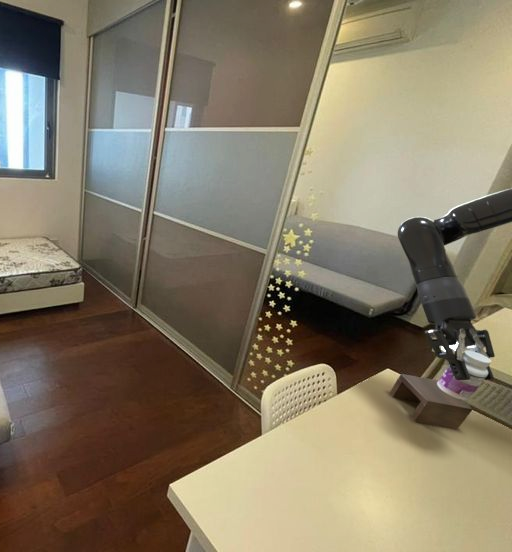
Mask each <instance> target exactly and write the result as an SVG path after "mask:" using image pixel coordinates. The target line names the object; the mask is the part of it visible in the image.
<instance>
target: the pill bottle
mask: <svg viewBox="0 0 512 552" xmlns="http://www.w3.org/2000/svg"><path fill="white" fill-rule="evenodd" d="M462 356H463V360H461V361H464V363H465V365H466V368H467V370H468V373H469V376H470V380H456V379H455V377H454V375H453V373H452V370H451V367H450V365H449V364H448V366H447V367H446V369H445V370H444V372H442V375H441V376H440V377H439V379H438V382H437V385H438V387H439V388H440V389H441V390H442V391H444V392H445V393H447V394H449V395H451V396H453V397H455V398H458V399H462V400H463V401H464V400H470V398H472V396H473V395H474V394H475V393H476V391H477V389H479V387H480V386H481V385H482V384H483V382H484V381H485V380H484V379H485V378H486V377H487V375H488V370H487V369H486V367H488V366H489V367H490V365H491V363H492V360H491V359H490V358H487V357H486V356H484V355H482V354H480V353H477V352H475V351H470V350H465V351H464V352H463V351H462Z"/></svg>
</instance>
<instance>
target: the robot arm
mask: <svg viewBox="0 0 512 552" xmlns="http://www.w3.org/2000/svg"><path fill="white" fill-rule="evenodd" d="M511 223H512V187H511V188H508V189H504V190H501V191H498V192H494V193H491V194H488V195H485V196H482V197H479V198H477V199H474V200H471V201H468V202H465V203H462V204H460V205H457V206H455V207H453V208H451V209H450V210H449V211H448V213H447V214H445V215H444V216H441V217H439V218H436V219H434V220H432V219H430V218H428V217H425V216H424V217H423V216H413V217H411V218H410V217H409V218H408V219H406V220H405V221H403V222H402V223H401V224H400V226H399V227H398V229H397V238H398V241H399V243H400V245H401V247H402V249H403V252H404V254H405V256H406V258H407V261H408V263H409V266H410V270H411V271H410V272H411V274H412V277H413V280H414V283H415V286H416V289H417V295H418V298H419V301H420V303H421V306H422V309H423V312H424V314H425V317H426V320H427V323H428V324H430V325H434V326H435V328H434V329H429V330H425V331H424V335H425V337H426V338H427V340H428V342H429V344H430V346H431V348H432V350H433V352H434V354H435V356H436V357H437V358H438V359H443V360H445V362H448V366H449V365H450V367H451V370H452V373H453V375H454V377H455V379H456V380H470V376H469V373H468V370H467V368H466V365H465V363H464V361H461V360H463V356H462V353H463V352H464V351H465V350H470V351H474V352H477V353H480V354H482V355H484V356H486V357H487V358H489V359H490V358H495V356H496V355H495V351H494V348H493V344H492V340H491V337H490V333H489V331H488V330H487V329H476V327H475V326H474V325H473V323H472V320H475V319H476V318H477V314H476V312H475V309H474V307H473V305H472V302H471V300H470V297H469V295H468V293H467V290H466V288H465V286H464V285H463V283H462V281H461V280H460V278H459V276H458V273H457V271H456V268H455V265H454V264H453V262H452V260H451V259H450V257H449V255H448V254H447V250H446V247H445V246H447V245H449V244H452V243H455V242H456V241H459V240H461V239H463V238H466V237H468V236H471V235H475V234H479V233H481V232H486V231H489V230H492V229H495V228H498V227H501V226H505V225H508V224H511ZM484 348H485V349H484ZM486 369H487V370H488V375H487V377H486V378H485V379H484V381H491V380H494V378H495V377H494V375H493V372H492V369H491V367H490V365H489V366H488V367H486Z"/></svg>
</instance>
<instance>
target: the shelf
mask: <svg viewBox="0 0 512 552" xmlns="http://www.w3.org/2000/svg"><path fill="white" fill-rule="evenodd" d="M438 381H439V379H432V378H426V377H420V376H416V375H409V374H403V373H400V375H399V376H398V377H397V379H396V381H395V383H394V384H393V386H392V388H391V389H390V391H389V395H390V396H391V397H393V398H397V399H401V400H407V401H413V402H418V403H419V404H418V405H417V407H416V408H415V410H414V411H413V412H412V414H411V415H410V419H411V420H412V421H413V423H414V422H415V423H420V424H425V425H430V426H436V427H441V428H445V429H451V430H456V431H457V430H458V429H459V428H460V427H461V426H462V424H463V423H464V422H465V420H466V419H467V418H468V417H469V415H470V414H471V413H472V411H473V410H474V409H473V408H472V407H471V406H470V405H469V404H468V403H466V402H465V401H464V400H463V399H458V398H455V397H453V396H451V395H449V394H447V393H445V392H444V391H442V390H441V389H440V388H439V387H438V385H437V382H438Z"/></svg>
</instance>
